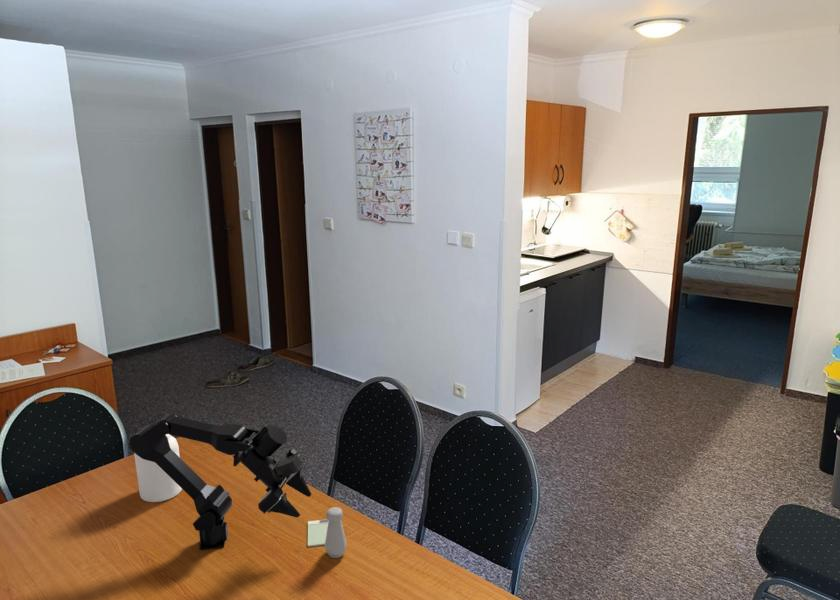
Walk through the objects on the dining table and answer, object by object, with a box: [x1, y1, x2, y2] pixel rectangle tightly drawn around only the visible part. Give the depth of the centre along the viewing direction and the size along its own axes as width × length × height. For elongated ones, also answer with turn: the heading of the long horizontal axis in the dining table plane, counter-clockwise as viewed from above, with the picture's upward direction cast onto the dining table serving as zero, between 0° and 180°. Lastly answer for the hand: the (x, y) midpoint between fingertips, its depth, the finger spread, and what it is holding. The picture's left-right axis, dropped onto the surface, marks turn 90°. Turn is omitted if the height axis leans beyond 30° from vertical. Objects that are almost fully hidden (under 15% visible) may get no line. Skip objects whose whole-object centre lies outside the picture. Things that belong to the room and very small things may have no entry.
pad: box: [307, 518, 328, 548], centre depth 161 cm, size 9×11×1 cm
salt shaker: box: [324, 506, 348, 559], centre depth 151 cm, size 6×6×13 cm
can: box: [133, 434, 183, 503], centre depth 178 cm, size 12×12×20 cm
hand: (304, 505), depth 151 cm, fingers open, 9 cm apart
